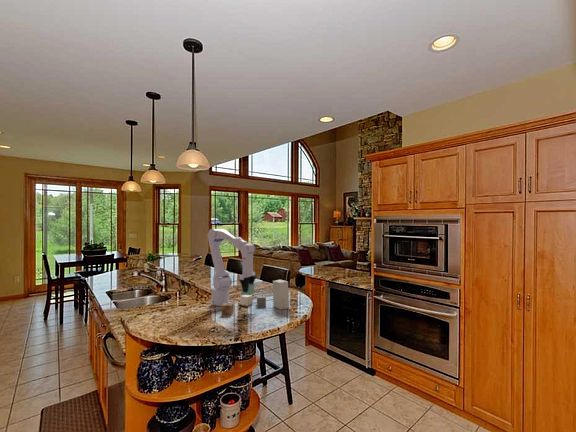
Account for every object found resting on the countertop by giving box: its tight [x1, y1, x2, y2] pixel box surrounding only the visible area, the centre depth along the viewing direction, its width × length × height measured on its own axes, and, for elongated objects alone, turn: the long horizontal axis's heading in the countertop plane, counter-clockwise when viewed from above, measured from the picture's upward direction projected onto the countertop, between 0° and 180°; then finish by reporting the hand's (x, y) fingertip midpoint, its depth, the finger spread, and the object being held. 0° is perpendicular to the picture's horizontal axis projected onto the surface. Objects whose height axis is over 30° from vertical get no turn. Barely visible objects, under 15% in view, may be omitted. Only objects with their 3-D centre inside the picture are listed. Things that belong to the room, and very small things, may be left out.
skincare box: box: [272, 279, 290, 310], centre depth 167 cm, size 8×6×15 cm
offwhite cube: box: [239, 294, 254, 307], centre depth 174 cm, size 5×5×5 cm
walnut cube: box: [221, 302, 235, 316], centre depth 156 cm, size 5×5×5 cm
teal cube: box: [241, 283, 255, 296], centre depth 162 cm, size 5×5×5 cm
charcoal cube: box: [256, 295, 267, 308], centre depth 171 cm, size 5×5×5 cm
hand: (247, 290), depth 162 cm, fingers closed on teal cube, 5 cm apart
